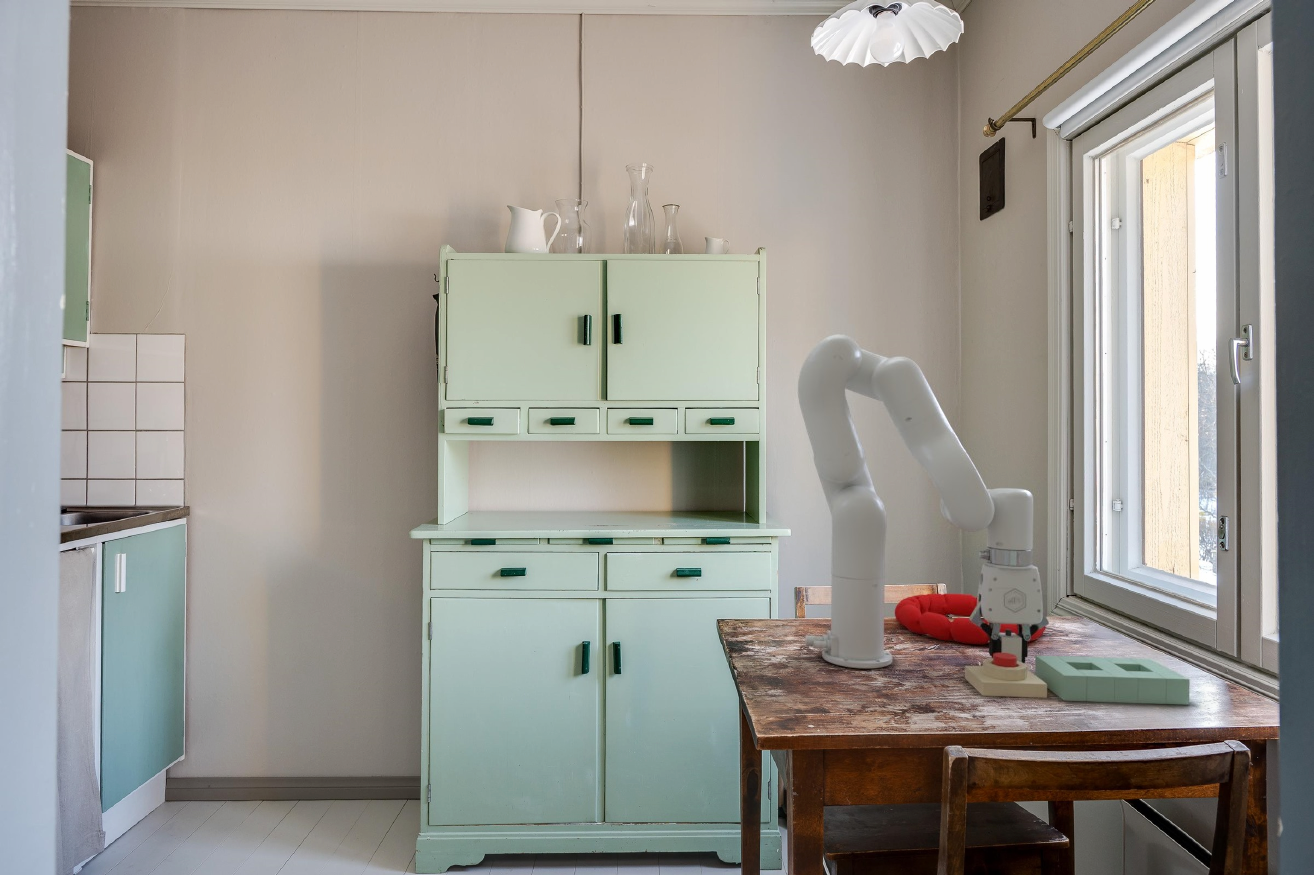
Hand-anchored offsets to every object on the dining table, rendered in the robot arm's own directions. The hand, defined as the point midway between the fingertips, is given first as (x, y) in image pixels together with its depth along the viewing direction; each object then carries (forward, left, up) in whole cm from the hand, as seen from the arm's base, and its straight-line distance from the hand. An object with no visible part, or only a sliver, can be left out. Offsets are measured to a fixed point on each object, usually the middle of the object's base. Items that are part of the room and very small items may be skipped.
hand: (1008, 659), depth 141 cm
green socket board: (+12, -11, -2) cm, 16 cm away
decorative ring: (+2, +29, -2) cm, 29 cm away
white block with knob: (0, 0, -2) cm, 2 cm away
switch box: (-5, -11, -2) cm, 12 cm away
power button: (-5, -11, +2) cm, 12 cm away
